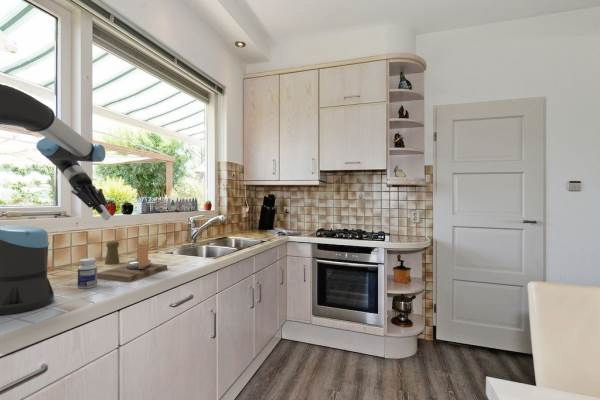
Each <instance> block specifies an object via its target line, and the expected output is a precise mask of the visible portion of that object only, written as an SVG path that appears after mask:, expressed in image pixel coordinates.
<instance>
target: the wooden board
mask: <svg viewBox="0 0 600 400" xmlns="http://www.w3.org/2000/svg"><path fill="white" fill-rule="evenodd" d="M166 270H168V265H167V264H161V263H153V262H151V266H150V267H148V268H144V269H128V268H127V264H126V265H122V266H119V267H115V268H110V269H106V270H102V271H99V272H97V280H103V281H104V280H106V281H114V282H115V281H116V282H123V283H129V282H133V281H135V280H139V279H142V278H144V277H148V276H151V275H153V274H157V273H160V272H163V271H166Z"/></svg>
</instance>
